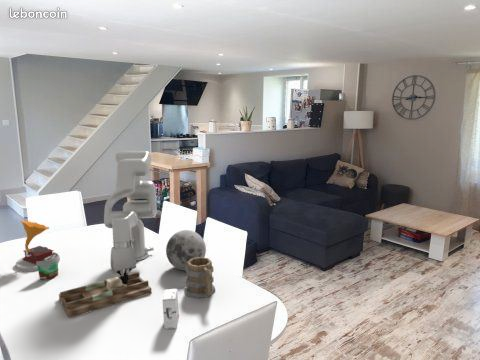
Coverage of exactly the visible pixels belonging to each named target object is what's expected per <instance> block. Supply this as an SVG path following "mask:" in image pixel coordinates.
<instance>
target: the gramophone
mask: <svg viewBox="0 0 480 360" xmlns="http://www.w3.org/2000/svg"><path fill="white" fill-rule="evenodd" d="M20 223H22V225H23V228H24V231H25V232H26V236H27V237H26V240H25V245H24V250H23V252H24V256H23V257H22V258H20V259H17V261H16V262H15V268H16V269H17V270H18V271H20V272H37V271H38V267H37V266H36V263H37V261H41V260H43V259H44V258H46V257H49V256H51V255H52V254H53V252H54V251H55V250H54V249H50V248H48V247H46V246H42V245H38V246H35V247H32V248H29V245H30V243H31V241H32V240H33V239H34V238H35V237H36V236H38V235H41V234H42V233H43V232H45V231H47V230H49V229H50V227H49V226H45V224H40V223H38V222H35V221H33V222H32V221H29V220H25V221H24V220H22V219H20ZM59 258H60V259H59V260H58V264H59V263H60V261H61V256H60V255H59Z"/></svg>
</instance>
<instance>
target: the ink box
mask: <svg viewBox="0 0 480 360" xmlns="http://www.w3.org/2000/svg"><path fill="white" fill-rule="evenodd" d="M162 311H163V325H164V326H163V328H164V329H165V330H169V329H177V328H178V324H179V318H180V312H179V294H178V289H177V288H169V289H168V288H167V289H164V293H163V297H162Z"/></svg>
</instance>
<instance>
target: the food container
mask: <svg viewBox="0 0 480 360" xmlns="http://www.w3.org/2000/svg"><path fill="white" fill-rule="evenodd" d="M52 253H53V254H52V255H51V256H49V257H46V258H44V259H43V260H41V261H37V263H36V266H37V267H38V277H39V281H47V280H48V281H49V280H52V279H55V278H56V277H58V275H59V263H58V260H59V259H60V260H61V257H60V258H59V256H60V254H59V253H58V252H54V251H52Z"/></svg>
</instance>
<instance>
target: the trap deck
mask: <svg viewBox="0 0 480 360" xmlns="http://www.w3.org/2000/svg"><path fill="white" fill-rule="evenodd" d="M118 277H119V278H120V276H118ZM120 279H121V278H120ZM106 280H107V279H106ZM106 280H102V281H98V282H94V283H91V284H90V283H89V284H86V285H83V286H79V287H74V288H71V289H67V290H63V291H60V292H59V294H58V299H59V301H60V303H61V306H62V308H63V310H64V311H65V314H66V316H67V318H68V319H71V318H74V317H77V316H80V315H83V314H88V313H90V312H93V311H97V310H100V309H103V308H107V307H110V306H113V305H117V304H120V303H122V302H124V303H125V302H126V301H129V300H133V299H137V298H139V297H144V296H146V295H149V294H152V293H153V292H152V287H151V286H150V285H149V280H144V279H143V278H142V277H141V276H140V272H139V271H136V272H131V273H129V275H128V284H123V283H122V288H118V289H115V290H111V291H109V290H108V289H107V281H106Z"/></svg>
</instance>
